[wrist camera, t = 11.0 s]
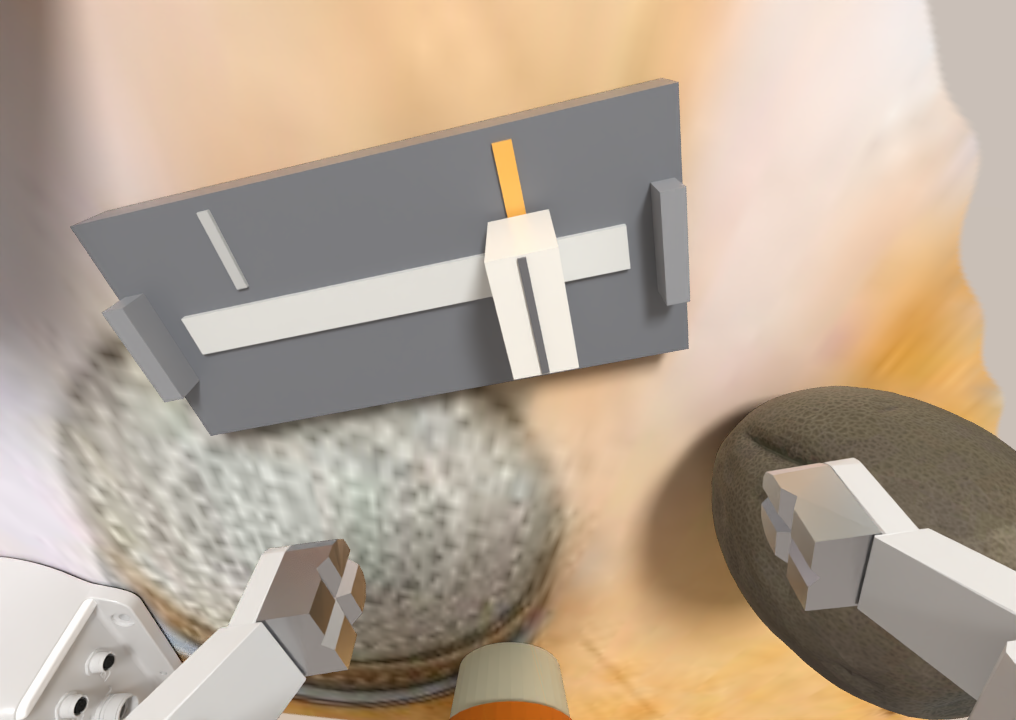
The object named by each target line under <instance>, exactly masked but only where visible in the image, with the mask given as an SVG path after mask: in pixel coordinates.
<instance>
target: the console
mask: <svg viewBox="0 0 1016 720" xmlns="http://www.w3.org/2000/svg"><path fill="white" fill-rule="evenodd" d="M547 209H549V212H550V216H551V220H552V224H553V228H554V231H555V235H556V239H557V243H558V247H559V253H560V259H561V265H562V270H563V276H564V282H565V288H566V294H567V299H568V305H569V311H570V317H571V323H572V329H573V334H574V340H575V346H576V352H577V358H578V364H579V368H575V369H580V368H585V367H591V366H596V365H602V364H607V363H613V362H618V361H624V360H629V359H635V358H640V357H646V356H651V355H657V354H662V353H668V352H673V351H679V350H684V349H689V346H688V320H687V302H689V301H690V284H689V255H688V226H687V197H686V186H685V185H683V184H682V163H681V136H680V110H679V84H678V82H676V81H672V80H668V79H664V78H660V79H656V80H652V81H647V82H643V83H639V84H635V85H631V86H627V87H622V88H618V89H614V90H610V91H606V92H602V93H597V94H593V95H589V96H585V97H581V98H576V99H572V100H568V101H564V102H560V103H556V104H551V105H547V106H543V107H539V108H535V109H530V110H526V111H522V112H518V113H514V114H510V115H505V116H501V117H497V118H493V119H489V120H484V121H480V122H476V123H472V124H468V125H464V126H459V127H455V128H451V129H447V130H443V131H439V132H434V133H430V134H426V135H422V136H418V137H413V138H409V139H405V140H401V141H397V142H393V143H388V144H384V145H380V146H376V147H372V148H367V149H363V150H359V151H355V152H351V153H347V154H342V155H338V156H334V157H330V158H326V159H321V160H317V161H313V162H309V163H305V164H301V165H296V166H292V167H288V168H284V169H280V170H275V171H271V172H267V173H263V174H259V175H255V176H250V177H246V178H242V179H238V180H234V181H230V182H225V183H221V184H217V185H213V186H209V187H204V188H200V189H196V190H192V191H188V192H184V193H179V194H175V195H171V196H167V197H163V198H158V199H154V200H150V201H146V202H142V203H138V204H133V205H129V206H125V207H121V208H117V209H112V210H108V211H105V212H103V213H100V214H98V215H96V216H94V217H91V218H89V219H87V220H84V221H82V222H80V223H77V224H75V225H73V226H70V227H71V229H72V230H73V232H74V233H75V235H76V236H77V238H78V239H79V241H80V242H81V244H82V245H83V247H84V248H85V250H86V251H87V253H88V254H89V256H90V257H91V259H92V260H93V262H94V263H95V265H96V266H97V267H98V269H99V270H100V272H101V273H102V275H103V276H104V278H105V279H106V281H107V282H108V284H109V285H110V287H111V288H112V290H113V291H114V293H115V294H116V296H117V297H118V299H119V300H120V301H118V302H117V303H115V304H114V305H112V306H111V307H110V308H108V309H107V310H105V311H104V312H102V314H103V316H104V317H105V318H106V320H107V321H108V323H109V324H110V325H111V327H112V328H113V330H114V331H115V333H116V334H117V335H118V337H119V338H120V340H121V341H122V343H123V344H124V345H125V347H126V348H127V350H128V351H129V352H130V354H131V355H132V357H133V358H134V360H135V361H136V362H137V364H138V365H139V367H140V368H141V370H142V371H143V372H144V374H145V375H146V377H147V378H148V379H149V381H150V382H151V384H152V385H153V387H154V388H155V389H156V391H157V392H158V394H159V395H160V396H161V398H162V399H163V401H164V402H168V401H174V400H179V399H183V398H184V397H185V398H186V400H187V401H188V402H189V404H190V405H191V407H192V408H193V410H194V411H195V413H196V414H197V416H198V417H199V419H200V420H201V422H202V423H203V425H204V426H205V428H206V429H207V431H208V432H209V434H210V435H211V436H213V435H218V434H224V433H229V432H234V431H240V430H245V429H251V428H256V427H262V426H267V425H273V424H278V423H284V422H289V421H295V420H300V419H306V418H311V417H317V416H322V415H328V414H333V413H339V412H344V411H350V410H355V409H361V408H366V407H372V406H377V405H383V404H388V403H393V402H399V401H404V400H410V399H415V398H421V397H426V396H432V395H437V394H443V393H448V392H454V391H459V390H465V389H470V388H476V387H481V386H487V385H492V384H498V383H503V382H509V381H514V378H513V374H512V370H511V366H510V362H509V358H508V354H507V350H506V346H505V343H504V339H503V335H502V331H501V327H500V323H499V319H498V315H497V311H496V307H495V303H494V299H493V295H492V291H491V288H490V284H489V280H488V276H487V272H486V268H485V264H484V258H485V247H486V237H487V226H488V222H491V221H496V220H501V219H505V218H510V217H514V216H519V215H524V214H528V213H533V212H537V211H542V210H547ZM570 370H574V369H570ZM564 371H569V370H564ZM559 372H563V371H559ZM553 373H558V372H553ZM548 374H552V373H548ZM542 375H547V374H542ZM542 375H537V376H542ZM531 377H536V376H531ZM531 377H526V378H531ZM520 379H525V378H520ZM520 379H515V380H520Z"/></svg>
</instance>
